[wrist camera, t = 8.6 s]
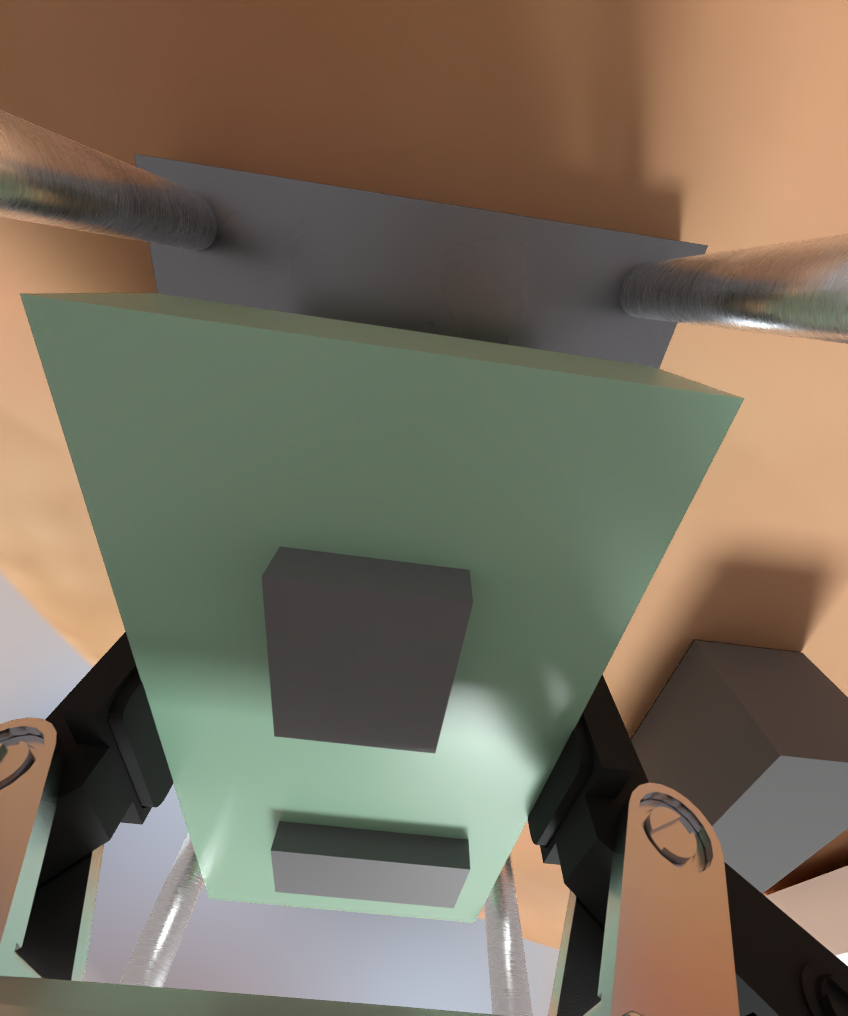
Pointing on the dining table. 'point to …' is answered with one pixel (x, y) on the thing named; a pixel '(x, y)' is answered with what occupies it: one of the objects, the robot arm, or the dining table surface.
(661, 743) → the block
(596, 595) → the board
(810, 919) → the bracket
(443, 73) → the dining table surface
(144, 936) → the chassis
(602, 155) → the dining table surface
